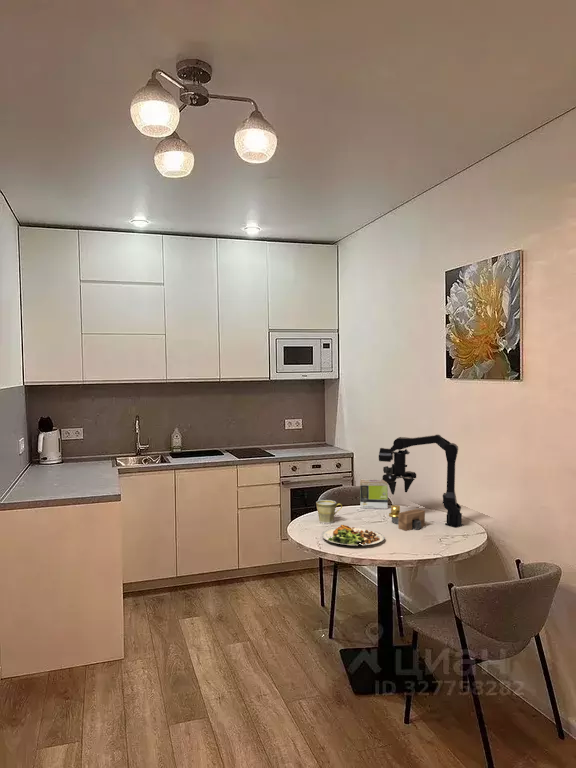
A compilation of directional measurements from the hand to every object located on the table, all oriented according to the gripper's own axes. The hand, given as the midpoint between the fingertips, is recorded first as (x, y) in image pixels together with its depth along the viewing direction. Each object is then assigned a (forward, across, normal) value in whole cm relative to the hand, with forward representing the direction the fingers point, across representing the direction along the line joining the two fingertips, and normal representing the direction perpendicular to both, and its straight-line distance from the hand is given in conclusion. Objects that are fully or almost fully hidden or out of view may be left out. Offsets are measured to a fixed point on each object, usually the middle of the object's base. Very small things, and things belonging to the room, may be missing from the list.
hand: (399, 493), depth 287 cm
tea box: (+14, -8, -28) cm, 32 cm away
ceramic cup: (+14, +32, -16) cm, 39 cm away
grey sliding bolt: (+13, +5, +9) cm, 17 cm away
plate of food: (+14, +41, +12) cm, 45 cm away
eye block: (+14, +5, +13) cm, 20 cm away
